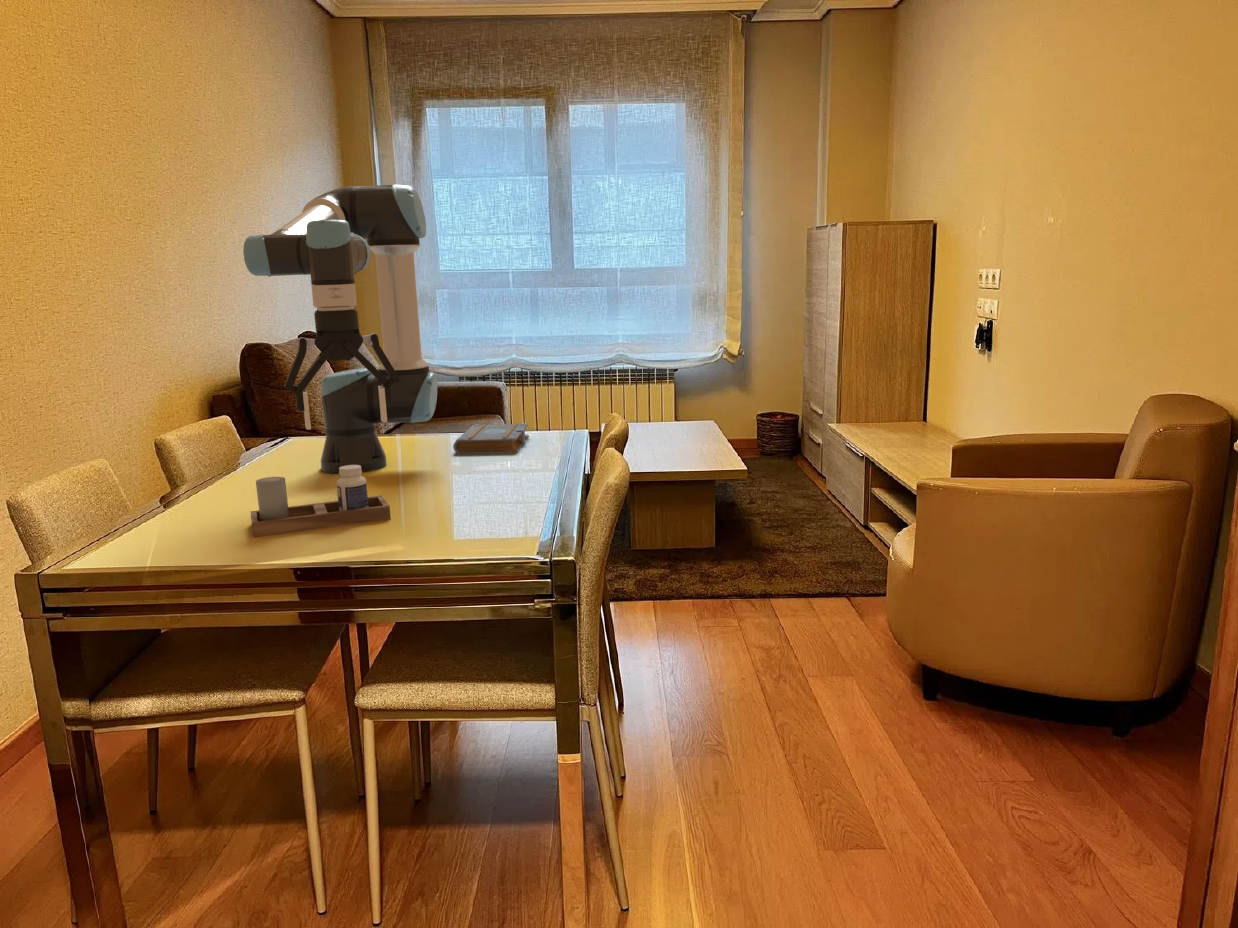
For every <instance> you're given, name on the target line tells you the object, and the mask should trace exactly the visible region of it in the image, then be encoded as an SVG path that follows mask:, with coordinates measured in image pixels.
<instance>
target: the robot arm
mask: <svg viewBox="0 0 1238 928" xmlns="http://www.w3.org/2000/svg"><path fill="white" fill-rule="evenodd" d="M424 211H425V210H424V207H423V204H422V200H421V198H420V196H419V193H418V191H417V190H416V189H415V188H414V187H413V186H411V185H408V184H407V185H406V184H405V185H404V184H381V185H378V184H377V185H356V186H355V185H349V186H343V187H342V186H341V187H338V188H335V189H331V190H330V191H327V192H324V193H323V194H320V195H318V196H316V197H315V198H313V199H311V200H310V201H308V202H307V203H306V204H305V205H304V207H303V208H302V212H301V213H300V214H299V215H296V216H295V217H294V218H293V219H291V220H290V221H288V222H287V223H286V224H284V225H283V226H281V227H279V228H277V230H275V231H274V232H273V233H270V234H262V233H260V234H258V235H248V237H246V238H245V240H244V243H243V246H242V247H243V252H242V253H243V260H244V264H245V266H246V269H247V270H248V272H249V273H250V274H252V275H253V276H257V277H258V276H259V277H262V276H263V277H280V276H282V277H283V276H284V277H285V276H305V275H306V276H307V275H308V276H309V275H310V285H311V294H312V295H311V297H312V305H313V307H314V308H315V309H316V310H315V311H314V312H313V314H314V324H315V337H314V338H305V337H302V336H301V337H299V338H298V347H297V348H298V349H297V351H296V355H295V357H294V358H293V359H294V360H293V362H292V365H291V367H290V370H289V372H288V375H287V377H286V380H285V382H284V385H283V387H284V390H285V391H287V392H292V393H293V394H295V400H296V409H297V411H298V412H303V416H304V424H305V430H312V426H311V425H312V424H311V414H310V407H309V405H310V404H309V397H308V392H307V391H305V389H306V388H307V387H308V385H309V384H310V382H312V380H313V379H314V378H315V376H316V374H317V373H318V372H319V370H320V369H321V368H322V367H323V365H325V363H326V362H327V360H328V361H331V362H338V361H351V360H353V358H355V359H356V360H357V361H358V362H359V363H360V364H361V365H362V366H363V367H361V368H360V367H359V368H354V369H347V370H342V371H339V372H334V373H329V374H327V375H325V376H324V377H323V378H322V379H321V381H320V386H321V393H320V394H321V395H320V397H321V401H322V402H321V404H322V412H323V413H322V414H323V422H324V431H325V441H324V444H323V449H322V454H321V458H320V467H321V468H320V469H321V471H323V472H324V473H329V474H338V475H340V474H339V468H340V467H342V466H347V465H360V466H361V470H362V473H365V472H370V471H371V472H372V471H376V470H379V469H382V468H384V467H385V466H387V456H386V453H385V451H384V448H383V445H382V444H381V441H380V439H379V437H378V434H377V426H376V424H389V423H390V424H393V423H395V424H396V423H397V424H398V423H411V424H414V423H421V422H423V423H424V422H427V421H430V419H432V418H433V416H434V413H435V410H436V406H437V398H438V377H437V373H435V372H433V371H430V365H429V363H428V362H427V361H426V360H424V359H423V357H422V347H421V333H420V322H419V321H420V320H419V318H420V317H419V307H418V306H419V305H418V293H417V292H418V291H417V282H416V278H417V277H416V270H415V269H416V267H415V266H416V265H415V252H416V251H417V250H418V249H419V248H420V246H421V245H420V239H423V238H425V237H426V236H427V222H426V216H425V212H424ZM372 253H373V254H374V256H375V266H376V267H375V269H376V278H377V281H376V282H377V289H378V300H379V301H378V302H379V304H378V305H379V313H380V314H379V315H380V325H381V335H382V347H381V345H380V341H379V336H378V334H376V333H374V332H371V333H370V334H367V335H361V332H360V324H359V312H358V310H357V309H356V308H355V307H356V306H357V304H358V303H357V293H356V281H355V275H356V274H358V273H360V272H362V271H363V270H365V268H367V266H368V265H369V264H370V261H371V256H372ZM363 343H366V345H367V346H369V347H371V348H372V350H373V352H374V354H375V355H376V356H377V358H378V361H379V362H380V364H379V366H378V369H377V368H376V367H375V366H374V364H372V363H371V362H370V361H369V360H368V359H367V357H366V356H364V354H362V352H360V351H359V349H360V348H361V346H362V345H363ZM313 346H315V347H316V348H317V349H318V350H319V354H318V355H317V357H316V358H315V359H314V361H313V363H311V365H310V367H309V368H308V369H307V370H306V372H305V373H304V375H303V376H302V377H301V379H300V380H299V382H298V383H297V384H295V382H296V379H297V377H298V374H299V371H300V370H301V367H302V364H303V362H304V359H305V357H306V354H307V351H310V350H311V349H312V347H313Z"/></svg>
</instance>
